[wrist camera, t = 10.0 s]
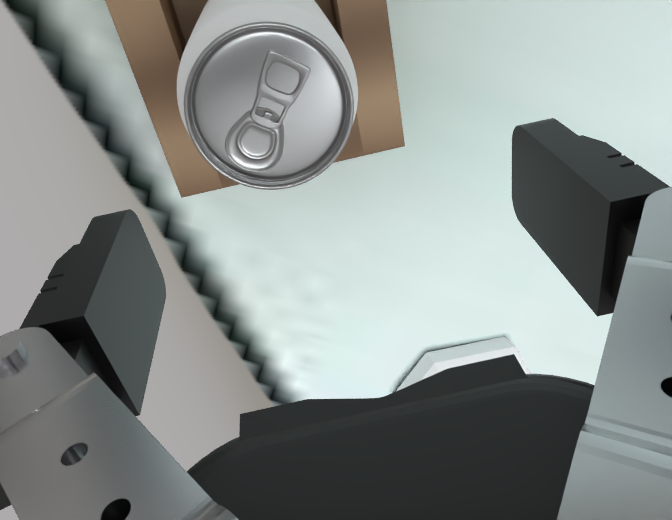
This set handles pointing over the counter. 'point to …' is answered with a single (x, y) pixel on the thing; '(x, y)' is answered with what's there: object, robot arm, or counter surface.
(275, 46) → the can
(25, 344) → the robot arm
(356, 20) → the brown open box
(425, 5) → the counter surface
